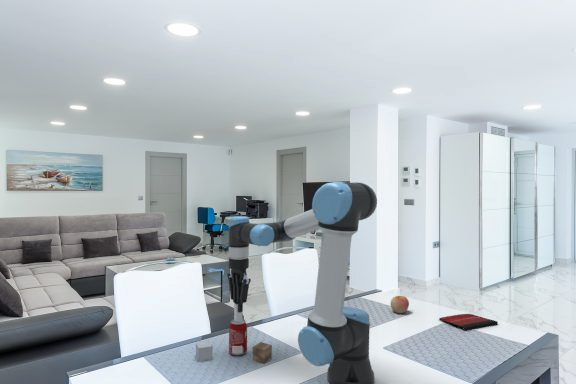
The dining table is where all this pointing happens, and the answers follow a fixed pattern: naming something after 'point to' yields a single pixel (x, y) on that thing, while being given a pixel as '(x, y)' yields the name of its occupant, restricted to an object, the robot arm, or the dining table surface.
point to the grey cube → (204, 351)
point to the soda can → (238, 337)
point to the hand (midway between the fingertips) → (238, 319)
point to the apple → (399, 304)
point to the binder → (468, 321)
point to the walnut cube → (262, 352)
